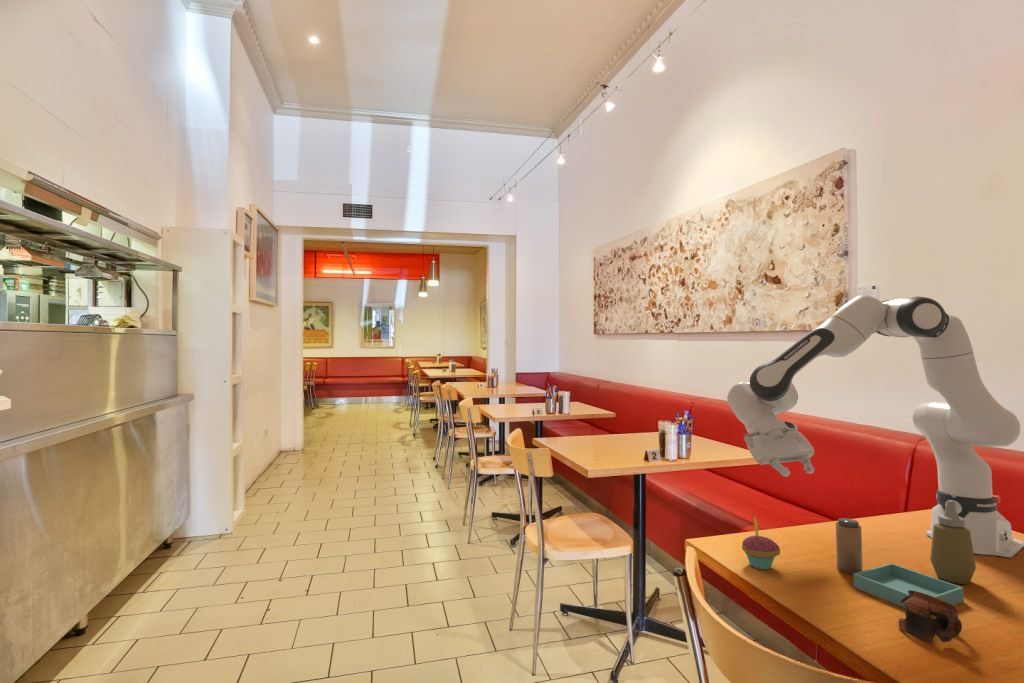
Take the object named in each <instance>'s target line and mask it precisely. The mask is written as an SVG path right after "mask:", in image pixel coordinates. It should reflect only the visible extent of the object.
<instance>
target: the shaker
mask: <svg viewBox="0 0 1024 683" xmlns="http://www.w3.org/2000/svg"><path fill="white" fill-rule="evenodd" d="M859 522H860V521H858V520H856V519H852V518H847V517H844V518H842V517H841V518H838V519H837V521H836V522H835V544H836V545H835V546H836V569H837V571H838V572H840V573H843V574H846V575H850V576H853V574H854V573H858V572H861V571H864V570H863V545H862V544H863V543H862V541H863V538H862V537H863V536H862V526H861V525H860V523H859Z"/></svg>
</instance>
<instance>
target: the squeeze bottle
mask: <svg viewBox="0 0 1024 683" xmlns="http://www.w3.org/2000/svg"><path fill="white" fill-rule="evenodd" d="M938 522H939V523H937V524H935V525H934V526H933V536H932V538H931V539H932V540H931V548H930V562H931V565H932V568H933V570H934V573H935V575H936V576H937V577H938V579H939V578H940V580H942V581H945V582H948V583H952V584H960V585H961V584H962V585H967V584H970V583H971V580H972V578H973V576H974V573H975V572H976V569H977V566H976V560H975V553H973V547H972V540H971V534H970V531H969V530H968V529H967V528H965V527H964V526H965V525H964V519H963V518H961V517H959V516H958V514H957V511H956V507H955V504H954V502H953V501H947V504H946V508H945V512H944V514H940V515H938Z"/></svg>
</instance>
